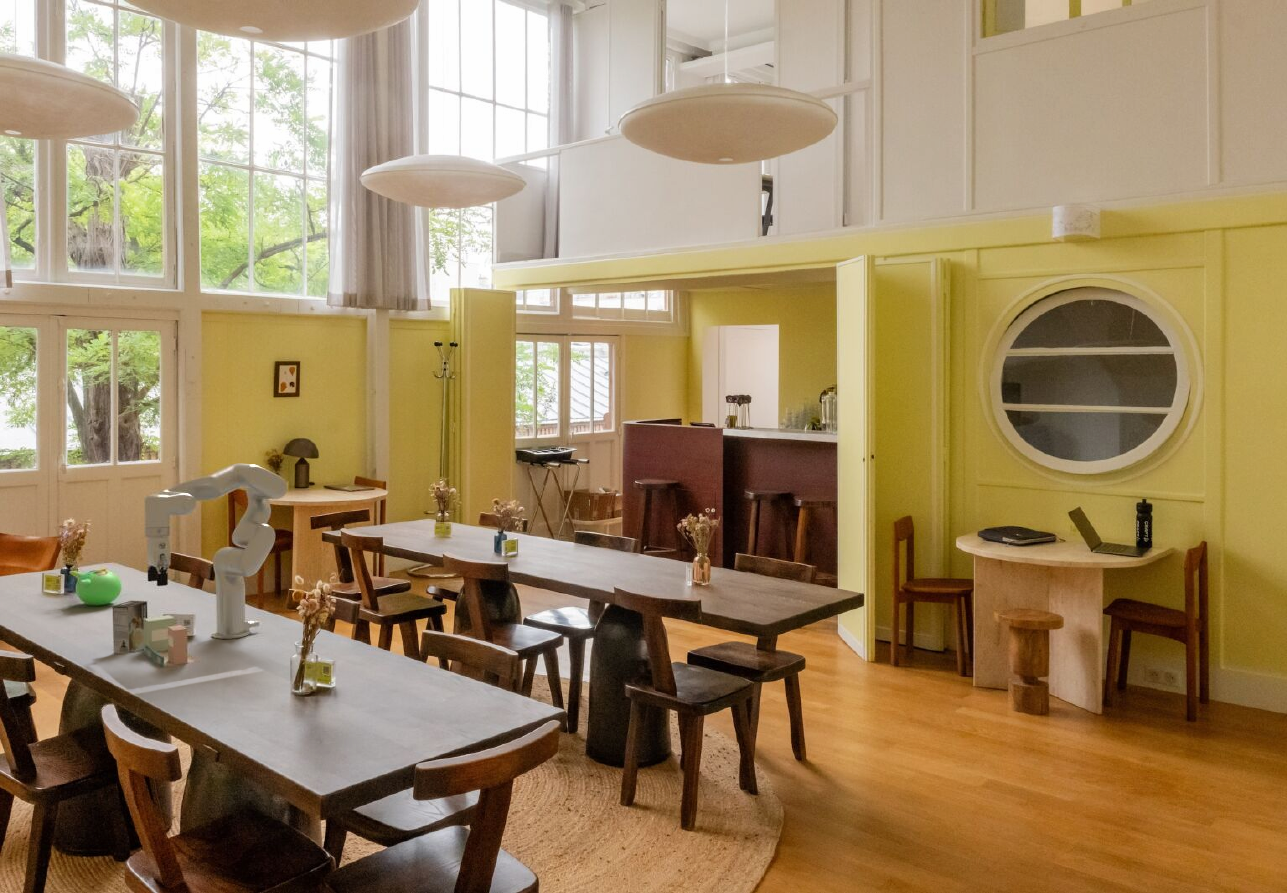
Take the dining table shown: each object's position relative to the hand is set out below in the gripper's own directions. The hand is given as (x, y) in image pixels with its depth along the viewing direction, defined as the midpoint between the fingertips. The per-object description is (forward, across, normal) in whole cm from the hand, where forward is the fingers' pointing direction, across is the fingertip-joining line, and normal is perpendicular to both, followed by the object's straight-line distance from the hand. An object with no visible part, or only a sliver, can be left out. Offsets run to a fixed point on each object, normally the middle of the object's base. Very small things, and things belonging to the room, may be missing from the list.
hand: (157, 583), depth 326 cm
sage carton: (+24, 0, 0) cm, 24 cm away
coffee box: (+24, +10, +6) cm, 27 cm away
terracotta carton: (+22, -19, 0) cm, 29 cm away
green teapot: (+24, +90, -3) cm, 93 cm away
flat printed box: (+24, -13, 0) cm, 27 cm away
